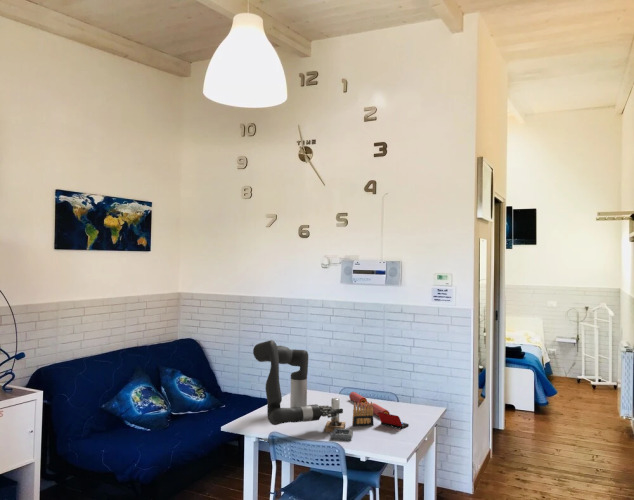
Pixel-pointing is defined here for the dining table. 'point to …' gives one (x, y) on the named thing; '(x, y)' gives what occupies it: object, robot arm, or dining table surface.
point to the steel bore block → (342, 434)
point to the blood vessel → (359, 398)
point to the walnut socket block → (330, 428)
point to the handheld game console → (391, 420)
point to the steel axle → (335, 405)
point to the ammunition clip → (363, 415)
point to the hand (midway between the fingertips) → (340, 409)
